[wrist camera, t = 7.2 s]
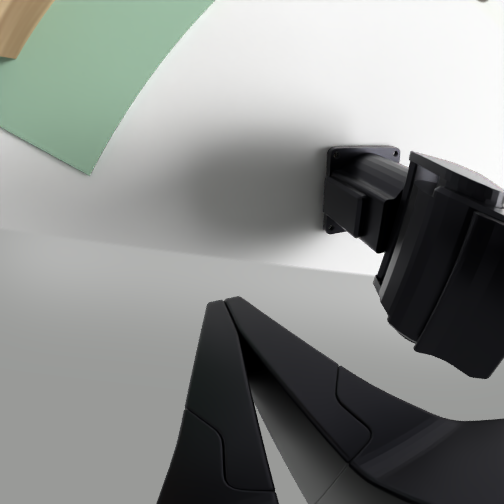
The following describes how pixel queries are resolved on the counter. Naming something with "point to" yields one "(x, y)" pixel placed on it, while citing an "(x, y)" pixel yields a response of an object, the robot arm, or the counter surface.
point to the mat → (87, 71)
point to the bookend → (19, 23)
